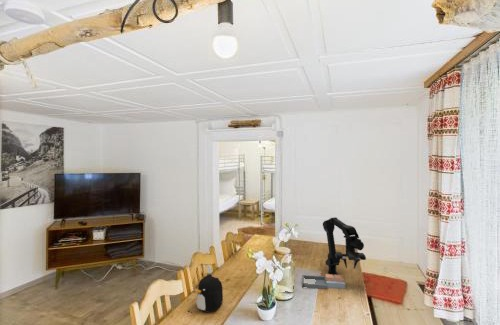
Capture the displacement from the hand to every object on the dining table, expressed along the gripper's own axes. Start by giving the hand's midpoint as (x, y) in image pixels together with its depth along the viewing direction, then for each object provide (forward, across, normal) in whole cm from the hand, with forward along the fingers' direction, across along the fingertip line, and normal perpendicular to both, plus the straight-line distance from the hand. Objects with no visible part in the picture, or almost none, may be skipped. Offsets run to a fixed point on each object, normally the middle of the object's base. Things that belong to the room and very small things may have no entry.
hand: (350, 268), depth 174 cm
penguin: (+12, -87, -37) cm, 96 cm away
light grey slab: (+12, -10, 0) cm, 16 cm away
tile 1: (+8, -14, 0) cm, 16 cm away
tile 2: (+8, -8, 0) cm, 12 cm away
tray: (+12, -24, 0) cm, 27 cm away
